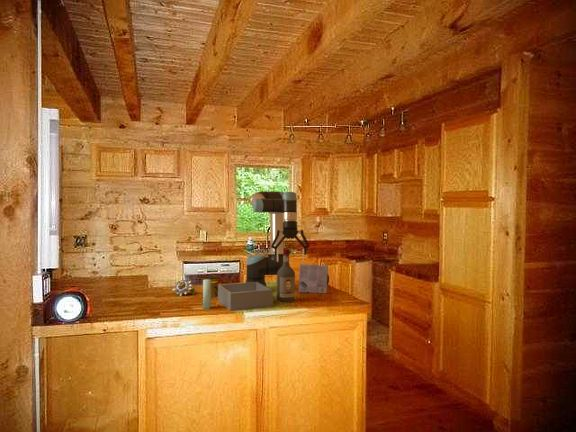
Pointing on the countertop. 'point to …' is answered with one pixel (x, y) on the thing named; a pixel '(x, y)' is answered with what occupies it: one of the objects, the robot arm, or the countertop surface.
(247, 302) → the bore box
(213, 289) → the condiment
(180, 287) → the passion flower
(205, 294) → the peg
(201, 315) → the countertop surface
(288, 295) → the liquor
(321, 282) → the cake pan box
